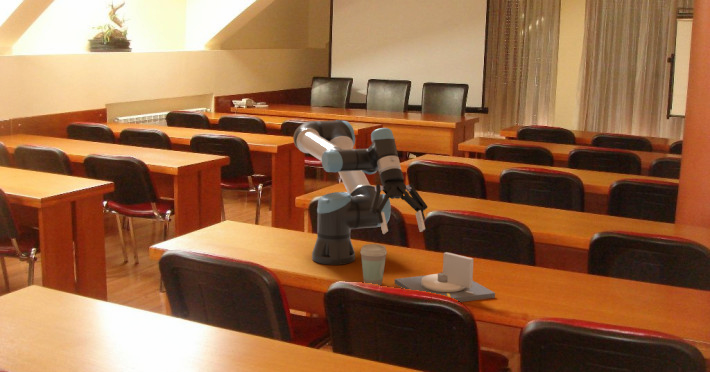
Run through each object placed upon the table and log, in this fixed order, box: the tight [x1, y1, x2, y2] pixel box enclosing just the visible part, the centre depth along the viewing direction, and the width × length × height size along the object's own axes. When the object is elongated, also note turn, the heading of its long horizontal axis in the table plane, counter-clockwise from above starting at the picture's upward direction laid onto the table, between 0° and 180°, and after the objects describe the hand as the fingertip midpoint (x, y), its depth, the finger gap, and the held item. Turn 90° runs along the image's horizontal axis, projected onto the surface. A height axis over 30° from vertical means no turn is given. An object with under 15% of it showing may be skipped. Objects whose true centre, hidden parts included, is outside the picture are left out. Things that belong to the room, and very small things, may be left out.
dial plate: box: [394, 274, 496, 303], centre depth 247 cm, size 23×23×2 cm
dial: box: [421, 251, 474, 292], centre depth 245 cm, size 17×14×10 cm
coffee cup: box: [359, 243, 388, 286], centre depth 252 cm, size 8×8×12 cm
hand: (404, 231), depth 255 cm, fingers open, 13 cm apart
